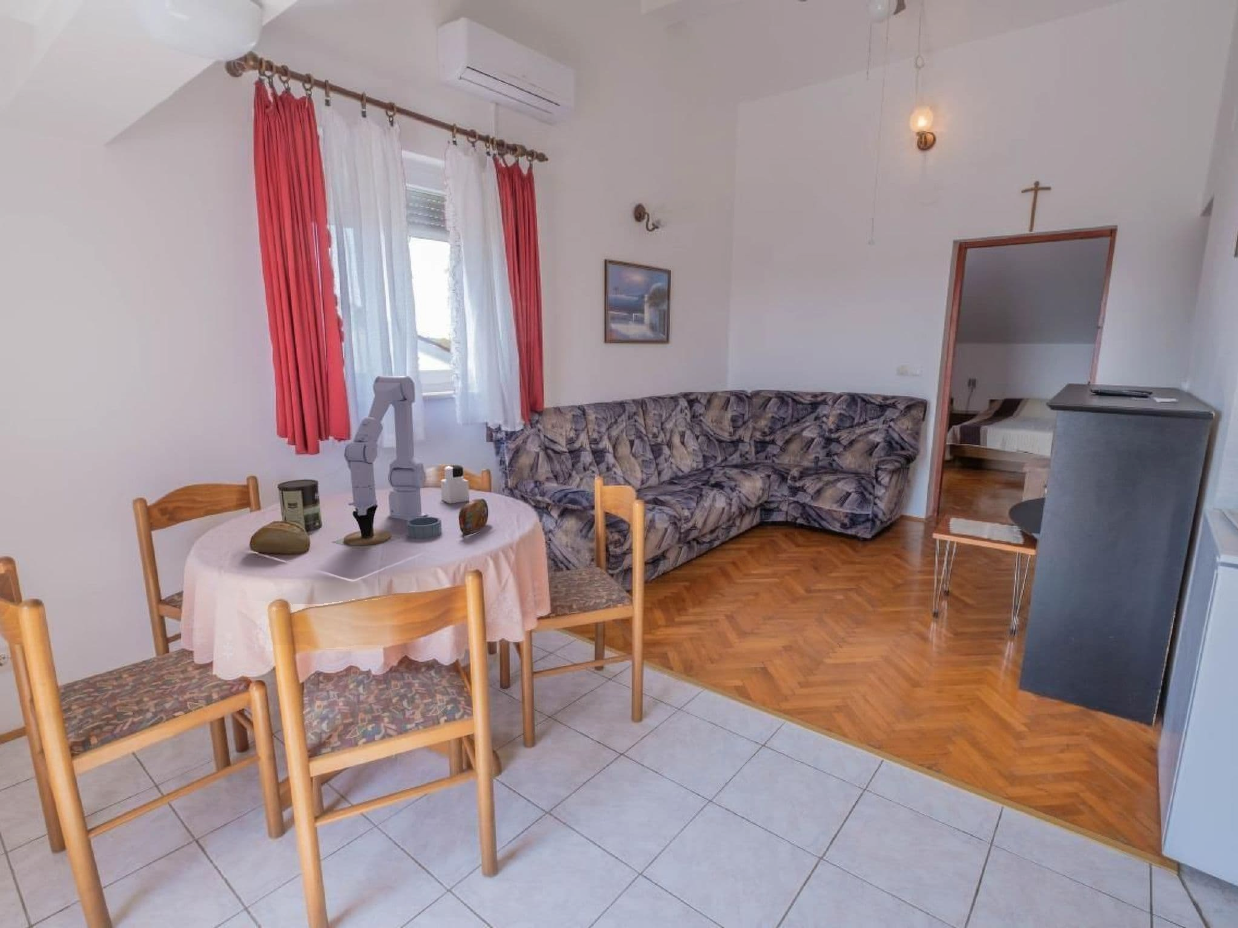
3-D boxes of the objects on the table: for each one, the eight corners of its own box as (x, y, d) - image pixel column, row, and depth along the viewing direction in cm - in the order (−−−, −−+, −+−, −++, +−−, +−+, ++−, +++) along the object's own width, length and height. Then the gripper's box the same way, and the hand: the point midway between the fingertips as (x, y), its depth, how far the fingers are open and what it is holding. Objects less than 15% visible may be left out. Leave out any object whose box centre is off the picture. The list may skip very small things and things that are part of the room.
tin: (468, 538, 170) (466, 509, 169) (457, 537, 171) (456, 508, 169) (489, 522, 185) (488, 495, 183) (480, 522, 185) (478, 495, 184)
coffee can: (320, 523, 184) (316, 477, 181) (324, 532, 175) (319, 484, 172) (281, 528, 178) (276, 481, 176) (283, 538, 170) (278, 489, 167)
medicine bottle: (460, 496, 215) (459, 463, 213) (469, 500, 210) (468, 466, 207) (441, 499, 211) (439, 465, 208) (449, 504, 205) (447, 469, 203)
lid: (334, 541, 165) (332, 526, 165) (371, 529, 176) (369, 515, 175) (364, 549, 160) (363, 532, 159) (400, 536, 170) (399, 521, 169)
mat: (331, 543, 165) (331, 541, 165) (371, 530, 177) (371, 529, 176) (364, 551, 159) (363, 549, 159) (403, 537, 170) (403, 536, 170)
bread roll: (263, 546, 164) (260, 517, 162) (319, 546, 164) (316, 517, 162) (241, 558, 154) (238, 528, 153) (301, 558, 154) (298, 528, 153)
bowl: (400, 536, 171) (399, 523, 170) (425, 528, 179) (424, 515, 178) (424, 541, 167) (423, 527, 166) (448, 533, 175) (447, 519, 174)
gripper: (351, 480, 170) (355, 527, 173) (343, 492, 157) (347, 543, 160) (378, 478, 172) (381, 525, 175) (372, 490, 159) (376, 540, 161)
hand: (367, 533), depth 167 cm, fingers open, 3 cm apart
